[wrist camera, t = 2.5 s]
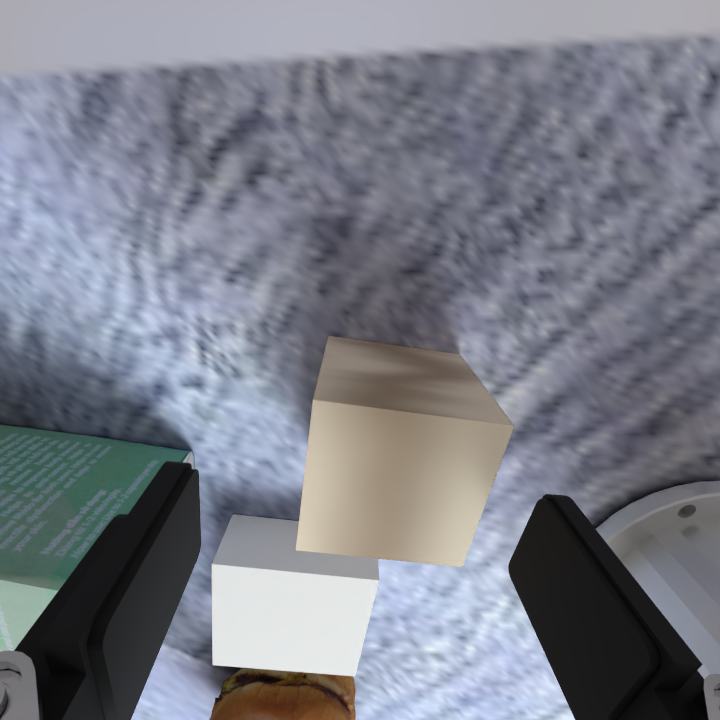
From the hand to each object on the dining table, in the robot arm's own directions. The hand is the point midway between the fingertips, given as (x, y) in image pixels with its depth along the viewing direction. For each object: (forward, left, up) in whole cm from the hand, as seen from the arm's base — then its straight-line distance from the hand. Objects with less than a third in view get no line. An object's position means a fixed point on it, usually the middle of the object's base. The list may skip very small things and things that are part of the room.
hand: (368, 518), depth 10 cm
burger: (+2, +24, -8) cm, 26 cm away
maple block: (-1, 0, -8) cm, 8 cm away
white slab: (+2, +12, -8) cm, 15 cm away
